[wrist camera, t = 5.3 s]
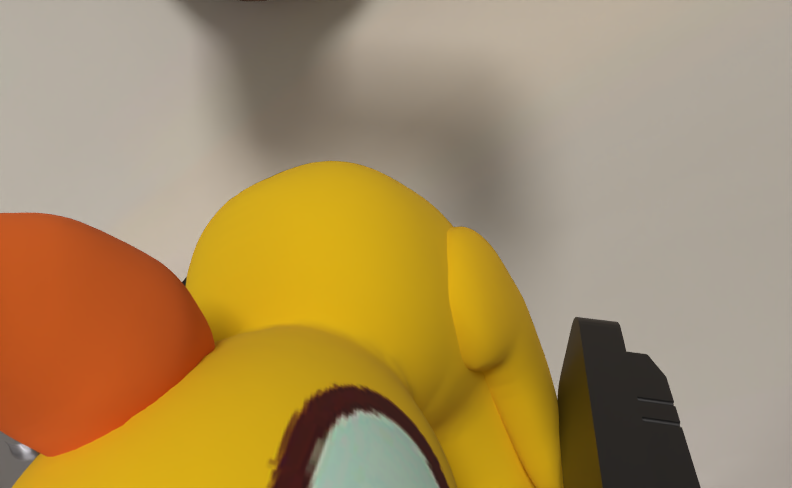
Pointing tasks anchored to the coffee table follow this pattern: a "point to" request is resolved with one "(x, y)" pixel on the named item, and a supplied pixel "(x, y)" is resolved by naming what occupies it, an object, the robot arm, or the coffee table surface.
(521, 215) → the coffee table surface
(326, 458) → the duckling
